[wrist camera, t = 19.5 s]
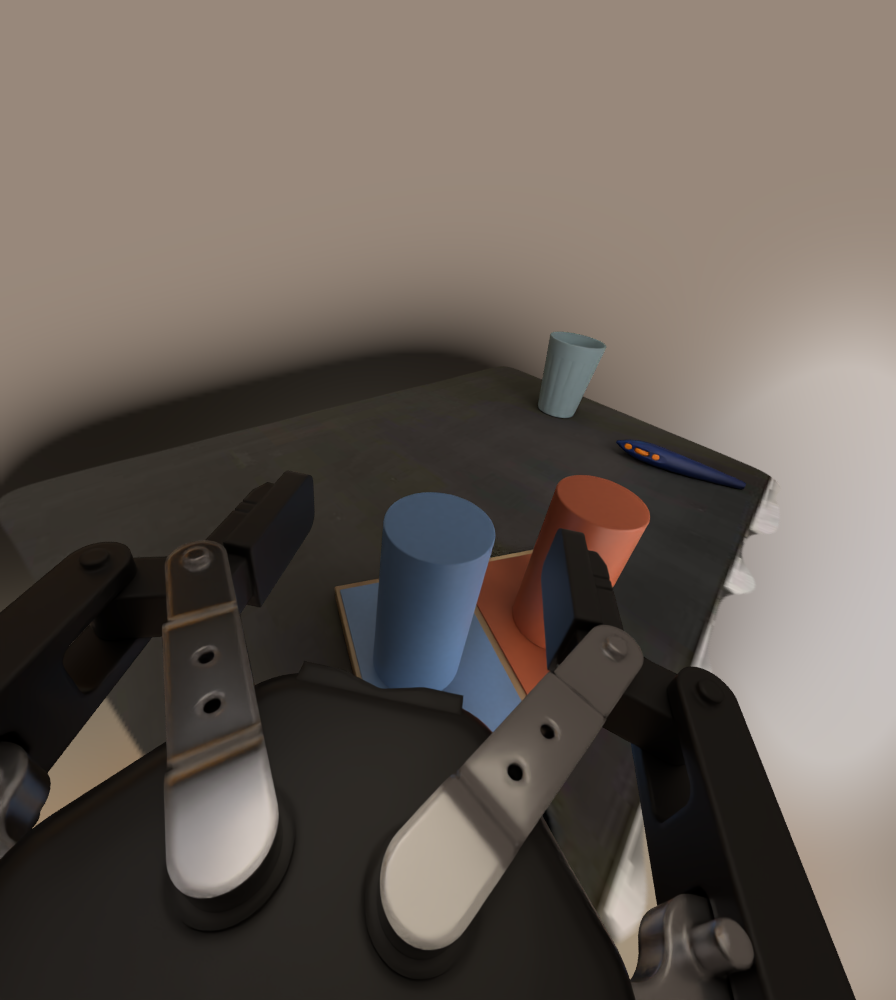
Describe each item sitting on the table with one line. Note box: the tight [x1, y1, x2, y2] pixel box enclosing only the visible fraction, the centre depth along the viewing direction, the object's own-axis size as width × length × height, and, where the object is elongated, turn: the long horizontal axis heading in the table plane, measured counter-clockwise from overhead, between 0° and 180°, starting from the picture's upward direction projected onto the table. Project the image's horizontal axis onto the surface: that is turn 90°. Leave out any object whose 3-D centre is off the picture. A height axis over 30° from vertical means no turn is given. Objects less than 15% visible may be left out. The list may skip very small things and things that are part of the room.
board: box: [335, 550, 549, 732], centre depth 26 cm, size 17×13×1 cm
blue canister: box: [373, 492, 495, 691], centre depth 21 cm, size 5×5×10 cm
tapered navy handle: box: [616, 440, 746, 489], centre depth 51 cm, size 16×4×2 cm, turn 70°
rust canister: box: [513, 475, 650, 649], centre depth 25 cm, size 5×5×10 cm
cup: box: [538, 332, 606, 418], centre depth 59 cm, size 8×8×10 cm
